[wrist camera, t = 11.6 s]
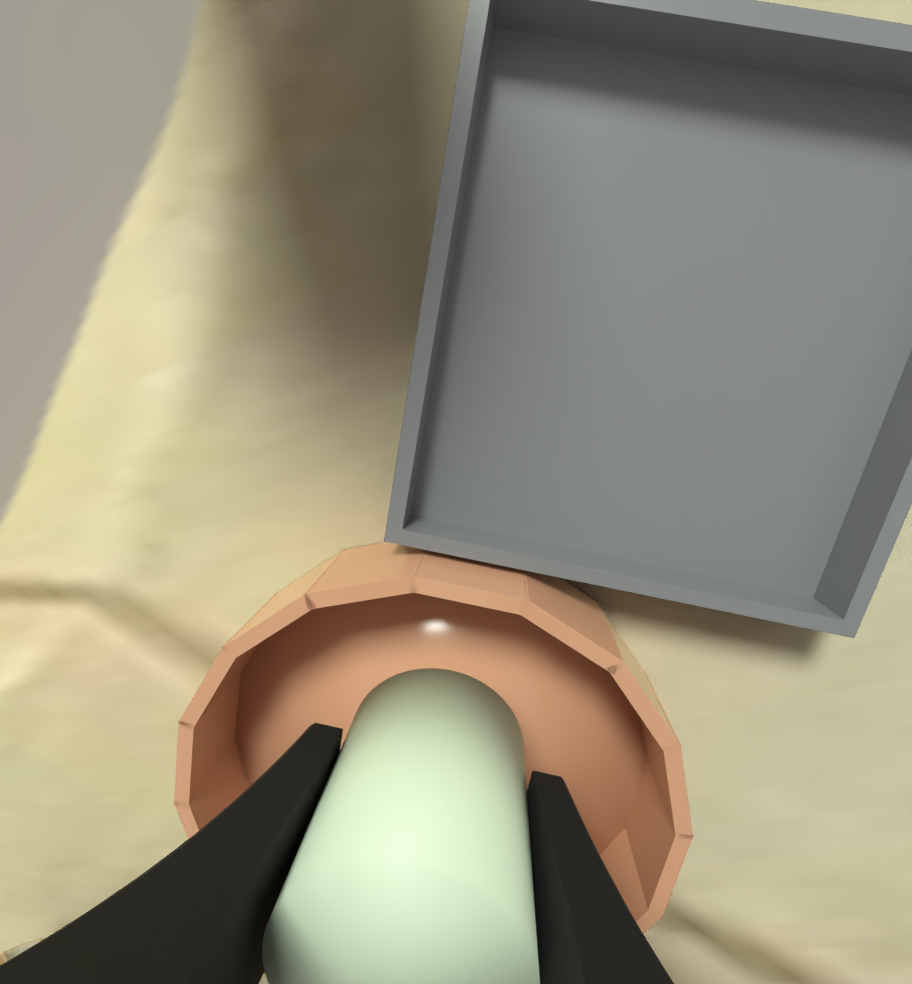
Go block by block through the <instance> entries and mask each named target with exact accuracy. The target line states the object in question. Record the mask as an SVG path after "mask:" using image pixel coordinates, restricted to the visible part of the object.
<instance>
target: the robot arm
mask: <svg viewBox="0 0 912 984" xmlns="http://www.w3.org/2000/svg"><path fill="white" fill-rule="evenodd" d="M342 733H343V729H342V728H337V727H333V726H328V725H324V724H319V723H314V724H312V725H311V726H309V727H308V728H307V729H306V731H305V732H304V733H303V734H302V735H301V736H300V737H299V738H298V739H297V740H296V741H295V742H294V744H293V745H292V746H291V747H290V748H289V749H288V750H287V751H286V752H285V753H284V754H283V755H282V756H281V757H280V758H279V759H278V760H277V761H276V762H275V763H274V764H273V765H272V766H271V767H270V768H269V769H268V770H267V771H266V772H265V773H264V774H262V775H261V776H260V777H259V778H258V779H257V780H256V781H255V782H254V783H253V784H252V785H251V786H250V787H248V788H247V789H246V790H245V791H244V792H243V793H242V794H241V795H240V796H239V797H238V798H237V799H235V800H234V801H233V802H232V803H231V804H230V805H229V806H227V807H226V808H225V809H224V810H223V811H222V812H220V813H219V814H218V815H217V816H216V817H214V818H213V819H212V820H211V821H210V822H209V823H207V824H206V825H205V826H204V827H203V828H201V829H200V830H199V831H198V832H197V833H195V834H194V835H193V836H192V837H191V838H189V839H188V840H187V841H185V842H184V843H183V844H182V845H180V846H179V847H178V848H177V849H175V850H174V851H173V852H171V853H170V854H169V855H167V856H166V857H165V858H164V859H162V860H161V861H160V862H158V863H157V864H155V865H154V866H153V867H151V868H150V869H149V870H147V871H146V872H145V873H143V874H142V875H141V876H139V877H138V878H136V879H135V880H134V881H132V882H131V883H129V884H128V885H126V886H125V887H123V888H122V889H120V890H119V891H117V892H116V893H115V894H113V895H112V896H110V897H109V898H107V899H106V900H104V901H103V902H101V903H100V904H99V905H97V906H96V907H94V908H93V909H91V910H90V911H88V912H87V913H85V914H83V915H82V916H80V917H79V918H77V919H76V920H74V921H73V922H71V923H70V924H68V925H66V926H65V927H63V928H62V929H60V930H59V931H57V932H55V933H54V934H52V935H50V936H49V937H47V938H45V939H43V940H42V941H40V942H38V943H37V944H35V945H33V946H32V947H30V948H28V949H27V950H25V951H23V952H22V953H20V954H18V955H17V956H15V957H13V958H12V959H10V960H8V961H7V962H5V963H3V964H2V965H0V984H259V982H260V980H261V978H262V976H263V973H264V971H265V970H264V966H263V956H262V947H263V937H264V933H265V929H266V926H267V923H268V921H269V918H270V916H271V914H272V911H273V909H274V906H275V904H276V902H277V899H278V897H279V895H280V892H281V890H282V887H283V885H284V883H285V880H286V878H287V876H288V873H289V871H290V868H291V866H292V864H293V861H294V859H295V857H296V854H297V852H298V849H299V847H300V845H301V842H302V840H303V837H304V835H305V833H306V830H307V828H308V826H309V823H310V821H311V818H312V816H313V814H314V811H315V809H316V807H317V804H318V802H319V799H320V797H321V795H322V792H323V790H324V788H325V785H326V783H327V780H328V778H329V776H330V773H331V771H332V769H333V766H334V764H335V761H336V759H337V757H338V754H339V752H340V747H341V740H342ZM527 801H528V816H529V830H530V845H531V860H532V874H533V889H534V903H535V918H536V932H537V947H538V961H539V976H540V984H674V983H673V981H672V980H671V978H670V977H669V975H668V974H667V972H666V970H665V969H664V967H663V966H662V964H661V962H660V961H659V959H658V958H657V956H656V954H655V953H654V951H653V949H652V948H651V946H650V945H649V943H648V941H647V940H646V938H645V936H644V934H643V933H642V931H641V929H640V928H639V926H638V924H637V923H636V921H635V919H634V917H633V916H632V914H631V912H630V910H629V909H628V907H627V905H626V903H625V902H624V900H623V898H622V896H621V894H620V893H619V891H618V889H617V887H616V885H615V883H614V881H613V879H612V878H611V876H610V874H609V872H608V870H607V868H606V866H605V864H604V862H603V861H602V859H601V857H600V855H599V853H598V851H597V849H596V847H595V845H594V843H593V841H592V839H591V837H590V835H589V833H588V831H587V829H586V826H585V824H584V822H583V820H582V818H581V816H580V814H579V812H578V810H577V807H576V805H575V803H574V801H573V799H572V796H571V794H570V792H569V790H568V788H567V785H566V783H565V781H564V780H563V778H562V777H561V776H556V775H551V774H547V773H542V772H538V771H533V770H532V774H531V778H530V781H529V785H528V789H527Z"/></svg>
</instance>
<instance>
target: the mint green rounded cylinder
mask: <svg viewBox="0 0 912 984" xmlns="http://www.w3.org/2000/svg"><path fill="white" fill-rule="evenodd" d="M262 956H263V966H264V970H265V974H266V978H267V981H268V983H269V984H540V976H539V961H538V947H537V932H536V918H535V903H534V889H533V874H532V860H531V845H530V830H529V816H528V801H527V787H526V772H525V758H524V744H523V736H522V732H521V728H520V726H519V723H518V721H517V718H516V716H515V715H514V713H513V711H512V710H511V708H510V707H509V706H508V704H507V703H506V702H505V701H504V699H503V698H502V697H501V696H499V695H498V694H497V693H496V692H495V691H494V690H493V689H491V688H490V687H489V686H487V685H486V684H484V683H482V682H481V681H479V680H477V679H475V678H473V677H471V676H468V675H466V674H463V673H459V672H456V671H452V670H446V669H437V668H425V669H415V670H410V671H406V672H403V673H399V674H397V675H394V676H392V677H390V678H388V679H386V680H385V681H383V682H381V683H380V684H378V685H377V686H376V687H375V688H374V689H372V690H371V691H370V692H369V693H368V695H367V696H366V697H365V698H364V699H363V701H362V702H361V704H360V706H359V707H358V709H357V712H356V714H355V716H354V718H353V721H352V723H351V726H350V728H349V730H348V733H347V735H346V738H345V740H344V742H343V745H342V747H341V749H340V752H339V754H338V757H337V759H336V761H335V764H334V766H333V769H332V771H331V773H330V776H329V778H328V780H327V783H326V785H325V788H324V790H323V792H322V795H321V797H320V799H319V802H318V804H317V807H316V809H315V811H314V814H313V816H312V818H311V821H310V823H309V826H308V828H307V830H306V833H305V835H304V837H303V840H302V842H301V845H300V847H299V849H298V852H297V854H296V857H295V859H294V861H293V864H292V866H291V868H290V871H289V873H288V876H287V878H286V880H285V883H284V885H283V887H282V890H281V892H280V895H279V897H278V899H277V902H276V904H275V906H274V909H273V911H272V914H271V916H270V918H269V921H268V923H267V926H266V929H265V933H264V937H263V947H262Z"/></svg>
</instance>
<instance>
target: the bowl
mask: <svg viewBox="0 0 912 984" xmlns="http://www.w3.org/2000/svg"><path fill="white" fill-rule="evenodd" d="M425 668H437V669H446V670H452V671H456V672H459V673H463V674H466V675H468V676H471V677H473V678H475V679H477V680H479V681H481V682H482V683H484V684H486V685H487V686H489V687H490V688H491V689H493V690H494V691H495V692H496V693H497V694H498V695H499V696H501V697H502V698H503V699H504V701H505V702H506V703H507V704H508V706H509V707H510V708H511V710H512V711H513V713H514V715H515V716H516V718H517V721H518V723H519V726H520V728H521V732H522V736H523V744H524V758H525V772H526V787H527V789H528V785H529V781H530V778H531V774H532V770H533V771H538V772H542V773H547V774H551V775H556V776H561V777H562V778H563V780H564V781H565V783H566V785H567V788H568V790H569V792H570V794H571V796H572V799H573V801H574V803H575V805H576V807H577V810H578V812H579V814H580V816H581V818H582V820H583V822H584V824H585V826H586V829H587V831H588V833H589V835H590V837H591V839H592V841H593V843H594V845H595V847H596V849H597V851H598V853H599V855H600V857H601V859H602V861H603V862H604V864H605V866H606V868H607V870H608V872H609V874H610V876H611V878H612V879H613V881H614V883H615V885H616V887H617V889H618V891H619V893H620V894H621V896H622V898H623V900H624V902H625V903H626V905H627V907H628V909H629V910H630V912H631V914H632V916H633V917H634V919H635V921H636V923H637V924H638V926H639V928H640V929H641V931H642V933H643V934H644V933H645V932H646V931H647V930H648V929H649V928H650V927H651V926H653V925H654V924H655V923H656V922H657V921H658V920H659V919H660V918H661V917H662V916H663V914H664V911H665V908H666V906H667V903H668V900H669V898H670V895H671V893H672V890H673V887H674V885H675V882H676V879H677V877H678V874H679V872H680V869H681V866H682V864H683V861H684V858H685V856H686V853H687V851H688V848H689V845H690V843H691V840H692V838H693V834H692V828H691V820H690V813H689V805H688V797H687V790H686V782H685V775H684V767H683V760H682V752H681V745H680V743H679V741H678V739H677V737H676V735H675V733H674V731H673V728H672V726H671V724H670V722H669V720H668V718H667V716H666V714H665V712H664V710H663V708H662V706H661V704H660V702H659V700H658V698H657V695H656V693H655V691H654V689H653V687H652V685H651V683H650V681H649V679H648V677H647V675H646V673H645V671H644V670H643V669H642V667H641V666H640V664H639V663H638V661H637V660H636V658H635V657H634V655H633V654H632V652H631V651H630V649H629V648H628V646H627V645H626V643H625V642H624V640H623V639H622V637H621V636H620V634H619V633H618V631H617V630H616V628H615V627H614V625H613V624H612V622H611V621H610V619H609V618H608V616H607V615H606V613H605V612H604V611H603V609H602V608H601V606H600V604H599V603H598V602H597V601H595V600H594V599H592V598H591V597H589V596H588V595H586V594H585V593H583V592H582V591H580V590H578V589H577V588H575V587H574V586H572V585H571V584H569V583H568V582H566V581H565V580H563V579H562V578H559V577H554V576H549V575H545V574H540V573H535V572H530V571H525V570H520V569H515V568H511V567H506V566H501V565H496V564H491V563H486V562H481V561H477V560H472V559H467V558H462V557H457V556H452V555H447V554H443V553H438V552H433V551H428V550H423V549H418V548H413V547H409V546H404V545H399V544H394V543H389V542H384V543H378V544H372V545H367V546H361V547H355V548H350V549H344V550H342V551H341V552H339V553H338V554H336V555H335V556H333V557H332V558H330V559H329V560H327V561H326V562H324V563H323V564H321V565H320V566H318V567H317V568H315V569H314V570H312V571H311V572H309V573H307V574H306V575H304V576H303V577H301V578H300V579H298V580H297V581H295V582H294V583H292V584H291V585H289V586H288V587H286V588H285V589H283V590H282V591H280V592H279V593H276V594H275V595H274V596H273V597H272V598H271V599H270V600H269V601H268V602H267V603H266V604H265V605H264V606H263V607H262V608H261V609H260V610H259V611H258V612H257V613H256V614H255V615H254V616H253V617H252V618H251V619H250V620H249V621H248V622H247V623H246V624H245V625H244V626H243V627H242V628H241V629H240V630H239V631H238V632H237V633H236V634H235V635H234V636H233V637H232V638H231V639H230V640H229V641H228V642H227V643H226V644H225V645H224V646H223V647H222V649H221V651H220V653H219V654H218V656H217V658H216V660H215V661H214V663H213V665H212V666H211V668H210V670H209V671H208V673H207V675H206V677H205V678H204V680H203V682H202V683H201V685H200V687H199V688H198V690H197V692H196V693H195V695H194V697H193V699H192V700H191V702H190V704H189V705H188V707H187V709H186V710H185V712H184V714H183V716H182V717H181V719H180V720H179V722H178V723H179V727H178V746H177V765H176V783H175V802H174V805H175V806H176V809H177V811H178V814H179V817H180V819H181V822H182V824H183V827H184V829H185V832H186V834H187V837H188V839H189V838H191V837H192V836H193V835H194V834H195V833H197V832H198V831H199V830H200V829H201V828H203V827H204V826H205V825H206V824H207V823H209V822H210V821H211V820H212V819H213V818H214V817H216V816H217V815H218V814H219V813H220V812H222V811H223V810H224V809H225V808H226V807H227V806H229V805H230V804H231V803H232V802H233V801H234V800H235V799H237V798H238V797H239V796H240V795H241V794H242V793H243V792H244V791H245V790H246V789H247V788H248V787H250V786H251V785H252V784H253V783H254V782H255V781H256V780H257V779H258V778H259V777H260V776H261V775H262V774H264V773H265V772H266V771H267V770H268V769H269V768H270V767H271V766H272V765H273V764H274V763H275V762H276V761H277V760H278V759H279V758H280V757H281V756H282V755H283V754H284V753H285V752H286V751H287V750H288V749H289V748H290V747H291V746H292V745H293V744H294V742H295V741H296V740H297V739H298V738H299V737H300V736H301V735H302V734H303V733H304V732H305V731H306V729H307V728H308V727H309V726H311V725H312V724H314V723H319V724H324V725H328V726H333V727H337V728H342V729H343V733H342V740H341V747H342V745H343V742H344V740H345V738H346V735H347V733H348V730H349V728H350V726H351V723H352V721H353V718H354V716H355V714H356V712H357V709H358V707H359V706H360V704H361V702H362V701H363V699H364V698H365V697H366V696H367V695H368V693H369V692H370V691H371V690H372V689H374V688H375V687H376V686H377V685H378V684H380V683H381V682H383V681H385V680H386V679H388V678H390V677H392V676H394V675H397V674H399V673H403V672H406V671H410V670H415V669H425ZM341 747H340V749H341Z"/></svg>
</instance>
